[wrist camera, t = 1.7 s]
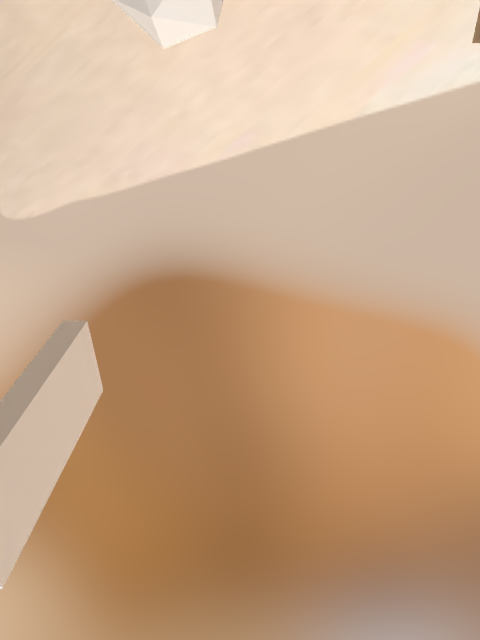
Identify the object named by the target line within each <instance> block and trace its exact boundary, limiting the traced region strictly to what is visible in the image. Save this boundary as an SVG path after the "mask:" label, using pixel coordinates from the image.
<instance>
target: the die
mask: <svg viewBox="0 0 480 640" xmlns="http://www.w3.org/2000/svg"><path fill="white" fill-rule="evenodd" d="M112 1H113V2H114V3H115V4H116V5H117V6H119V7H120V8H121V9H122V10H123V11H124V12H125V13H126V14H127V15H128V16H129V17H130V18H131V19H132V20H133V21H134V22H135V23H137V24H138V25H139V26H140V27H141V28H142V29H143V30H144V31H145V32H146V33H147V34H148V35H149V36H150V37H151V38H152V39H153V40H154V41H156V42H157V43H158V44H159V45H160V46H161V47H162V48H163V49H165V48H167V47H170V46H172V45H175V44H177V43H180V42H182V41H184V40H187V39H189V38H192V37H194V36H197V35H199V34H201V33H204V32H206V31H209V30H211V29H214V28H216V27H217V25H218V21H219V16H220V12H221V8H222V3H223V0H112Z"/></svg>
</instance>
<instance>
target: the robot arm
mask: <svg viewBox="0 0 480 640" xmlns="http://www.w3.org/2000/svg"><path fill="white" fill-rule="evenodd" d="M102 391H103V387H102V383H101V379H100V374H99V370H98V366H97V361H96V357H95V353H94V348H93V344H92V339H91V335H90V331H89V326H88V322H87V321H63V322H62V323H61V324H60V325H59V327H58V328H57V329H56V331H55V332H54V333H53V335H52V336H51V337H50V338H49V340H48V341H47V342H46V343H45V345H44V346H43V347H42V349H41V350H40V351H39V352H38V354H37V355H36V356H35V358H34V359H33V360H32V361H31V363H30V364H29V365H28V367H27V368H26V369H25V370H24V372H23V373H22V374H21V376H20V377H19V378H18V379H17V380H16V382H15V383H14V385H13V386H12V387H11V388H10V389H9V391H8V392H7V393H6V395H5V396H4V397H3V398H2V400H1V401H0V589H3V587H4V585H5V583H6V581H7V579H8V577H9V575H10V573H11V571H12V569H13V567H14V565H15V563H16V561H17V559H18V557H19V555H20V553H21V551H22V549H23V547H24V545H25V544H26V541H27V540H28V538H29V535H30V534H31V532H32V530H33V528H34V525H35V524H36V522H37V520H38V518H39V516H40V514H41V512H42V510H43V508H44V506H45V504H46V502H47V500H48V498H49V496H50V494H51V492H52V490H53V488H54V486H55V484H56V482H57V480H58V478H59V476H60V474H61V472H62V470H63V469H64V467H65V465H66V463H67V460H68V459H69V457H70V455H71V453H72V451H73V449H74V447H75V445H76V443H77V441H78V439H79V437H80V435H81V433H82V431H83V429H84V427H85V425H86V423H87V421H88V419H89V417H90V415H91V413H92V411H93V409H94V407H95V405H96V403H97V401H98V399H99V397H100V395H101V393H102Z"/></svg>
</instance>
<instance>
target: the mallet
mask: <svg viewBox="0 0 480 640" xmlns="http://www.w3.org/2000/svg"><path fill="white" fill-rule="evenodd" d="M472 43H480V9H479V14H478V19H477V23H476V28H475V33H474V37H473V42H472Z"/></svg>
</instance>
